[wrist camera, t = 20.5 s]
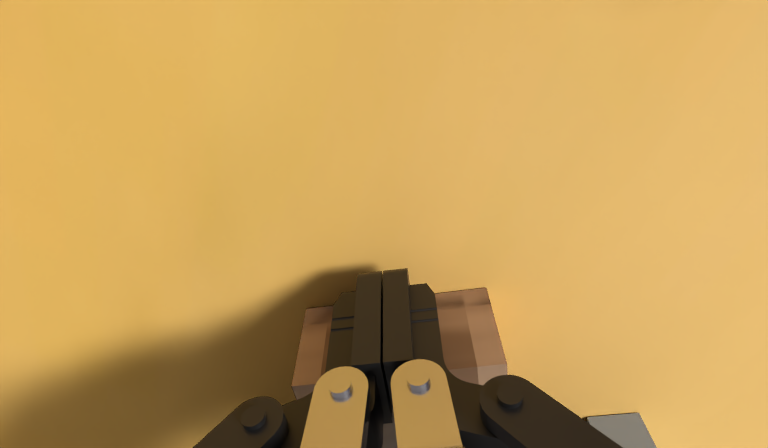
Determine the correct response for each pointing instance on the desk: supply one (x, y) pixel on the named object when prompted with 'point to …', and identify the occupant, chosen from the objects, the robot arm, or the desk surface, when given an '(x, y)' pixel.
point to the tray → (458, 337)
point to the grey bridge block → (624, 430)
